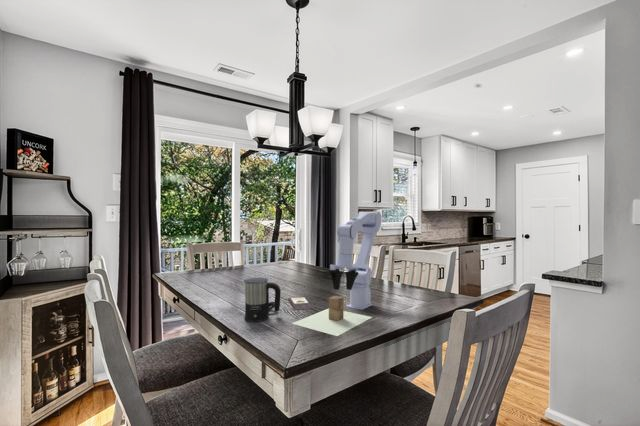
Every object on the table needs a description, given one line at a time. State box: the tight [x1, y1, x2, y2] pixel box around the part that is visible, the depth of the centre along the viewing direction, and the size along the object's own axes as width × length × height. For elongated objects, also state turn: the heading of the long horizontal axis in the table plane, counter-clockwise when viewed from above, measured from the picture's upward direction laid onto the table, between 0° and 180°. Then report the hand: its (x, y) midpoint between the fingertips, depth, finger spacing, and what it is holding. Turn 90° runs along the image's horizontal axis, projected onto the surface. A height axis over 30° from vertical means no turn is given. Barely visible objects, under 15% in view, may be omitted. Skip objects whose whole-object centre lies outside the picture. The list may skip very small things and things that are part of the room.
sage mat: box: [291, 307, 373, 337], centre depth 122 cm, size 24×20×1 cm
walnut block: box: [328, 295, 344, 321], centre depth 123 cm, size 4×4×8 cm
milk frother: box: [243, 277, 282, 322], centre depth 129 cm, size 14×16×15 cm
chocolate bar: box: [287, 296, 317, 311], centre depth 144 cm, size 9×1×18 cm
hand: (342, 289), depth 127 cm, fingers open, 7 cm apart
